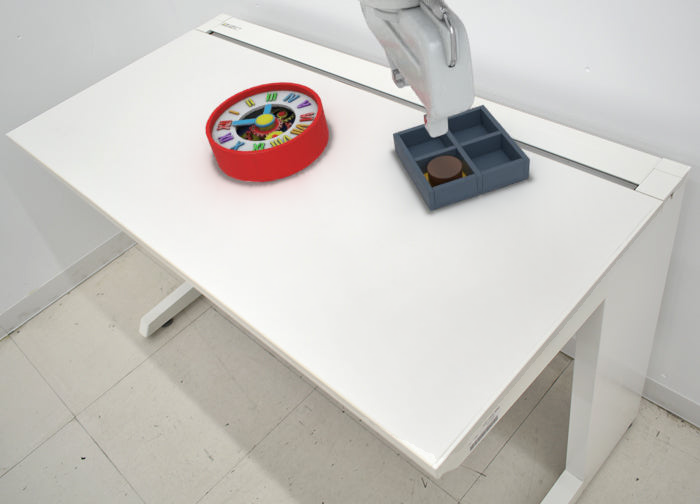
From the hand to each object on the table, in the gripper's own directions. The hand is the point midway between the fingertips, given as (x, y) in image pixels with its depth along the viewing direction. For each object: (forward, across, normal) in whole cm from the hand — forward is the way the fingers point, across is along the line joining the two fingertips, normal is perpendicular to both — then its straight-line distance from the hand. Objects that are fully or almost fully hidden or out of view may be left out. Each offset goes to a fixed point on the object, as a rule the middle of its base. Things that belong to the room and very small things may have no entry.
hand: (418, 106), depth 60 cm
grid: (+26, +20, -11) cm, 35 cm away
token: (+26, +16, -8) cm, 31 cm away
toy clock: (+26, +40, +15) cm, 50 cm away
